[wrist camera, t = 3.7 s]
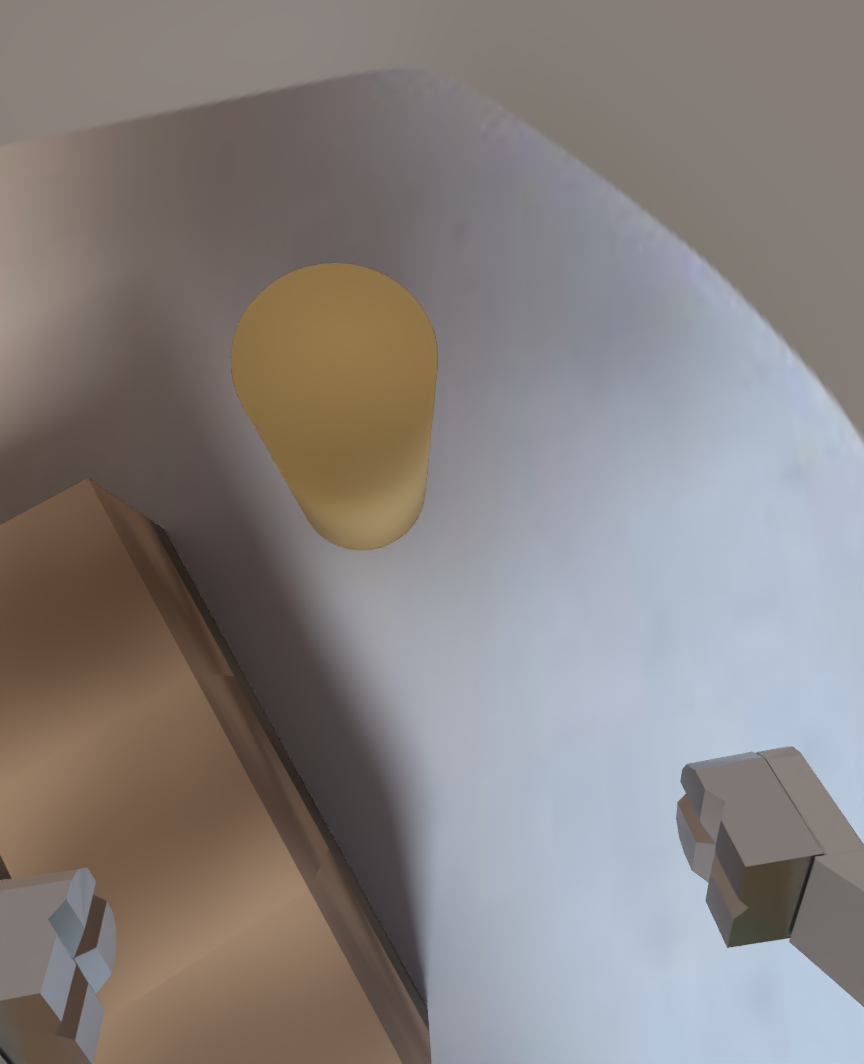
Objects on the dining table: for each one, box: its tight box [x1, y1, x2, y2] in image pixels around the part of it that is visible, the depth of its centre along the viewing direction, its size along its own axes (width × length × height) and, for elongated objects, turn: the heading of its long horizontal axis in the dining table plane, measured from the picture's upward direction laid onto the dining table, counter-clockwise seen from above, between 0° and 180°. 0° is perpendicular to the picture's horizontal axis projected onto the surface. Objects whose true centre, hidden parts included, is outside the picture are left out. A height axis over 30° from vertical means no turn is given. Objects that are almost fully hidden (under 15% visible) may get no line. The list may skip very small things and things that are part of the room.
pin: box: [231, 263, 438, 550], centre depth 20 cm, size 4×4×10 cm
